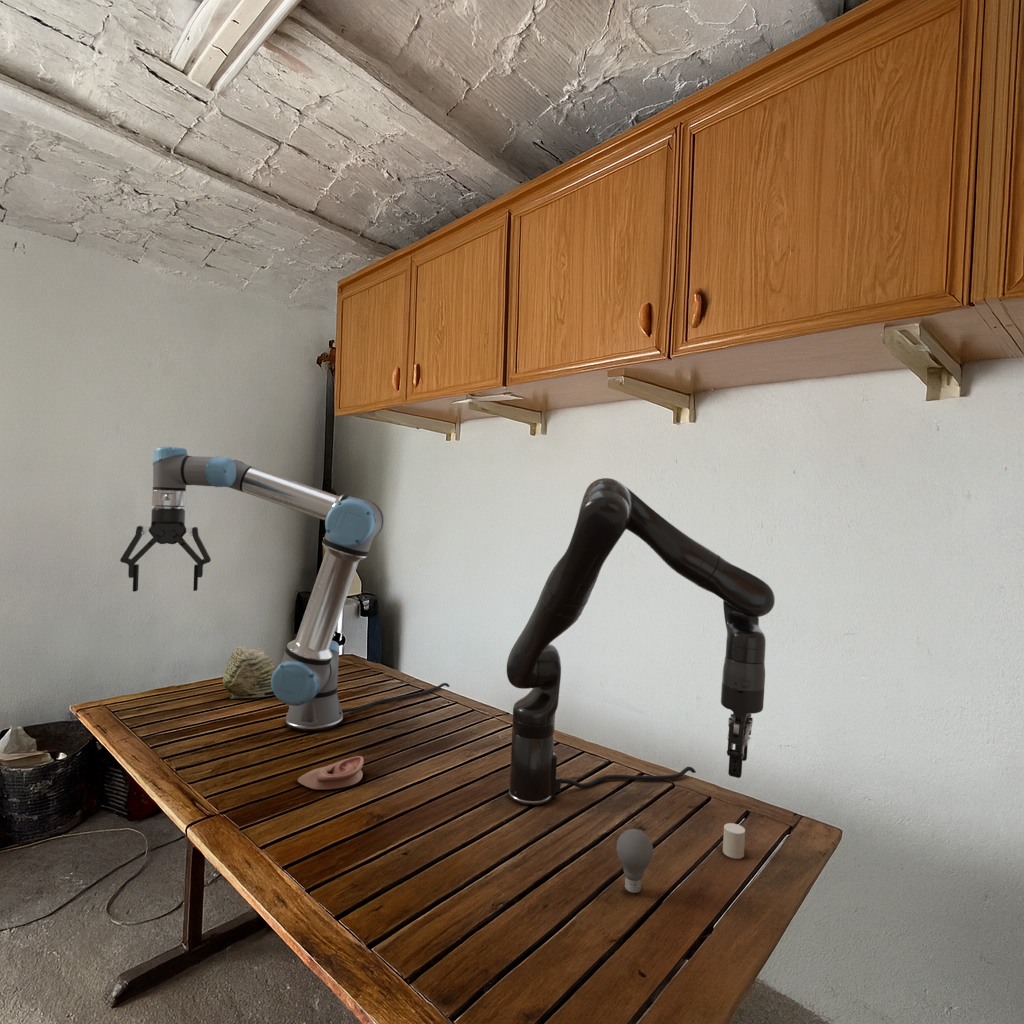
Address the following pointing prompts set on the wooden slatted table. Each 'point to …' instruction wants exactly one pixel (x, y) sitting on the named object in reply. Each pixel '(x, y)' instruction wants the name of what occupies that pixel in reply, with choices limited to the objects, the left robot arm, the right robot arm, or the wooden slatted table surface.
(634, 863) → the light bulb
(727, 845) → the canister
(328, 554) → the left robot arm
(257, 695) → the fossil
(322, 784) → the anatomical model
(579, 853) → the wooden slatted table surface
